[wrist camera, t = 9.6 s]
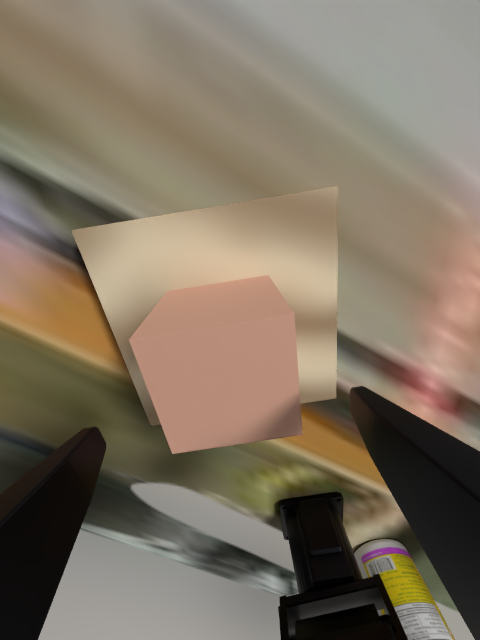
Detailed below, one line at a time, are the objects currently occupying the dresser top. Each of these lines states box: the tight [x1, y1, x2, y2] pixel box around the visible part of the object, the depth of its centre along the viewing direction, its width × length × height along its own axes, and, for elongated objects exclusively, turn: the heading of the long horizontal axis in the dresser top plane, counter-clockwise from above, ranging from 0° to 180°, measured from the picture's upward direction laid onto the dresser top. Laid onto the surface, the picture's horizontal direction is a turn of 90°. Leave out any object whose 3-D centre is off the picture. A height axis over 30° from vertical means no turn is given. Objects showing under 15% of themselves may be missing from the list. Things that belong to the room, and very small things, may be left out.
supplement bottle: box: [354, 539, 455, 640], centre depth 24 cm, size 7×7×13 cm
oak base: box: [71, 186, 338, 426], centre depth 16 cm, size 14×14×2 cm
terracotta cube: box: [129, 275, 302, 454], centre depth 13 cm, size 6×6×6 cm
